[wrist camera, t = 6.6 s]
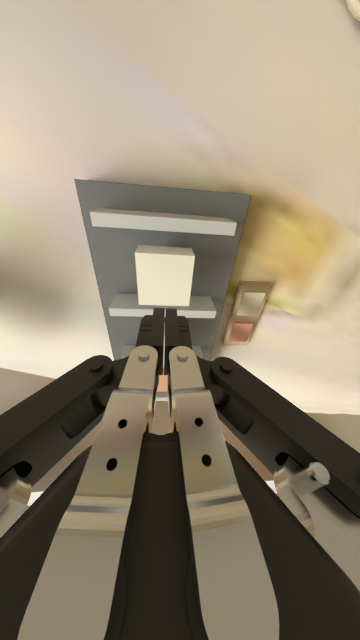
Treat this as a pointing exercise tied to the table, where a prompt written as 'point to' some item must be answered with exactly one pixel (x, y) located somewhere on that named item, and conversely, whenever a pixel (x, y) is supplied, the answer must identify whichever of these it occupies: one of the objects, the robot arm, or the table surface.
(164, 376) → the orange cube
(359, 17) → the storage basket
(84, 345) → the table surface
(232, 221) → the grey shelf board
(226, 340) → the strip
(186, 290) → the key ivory
